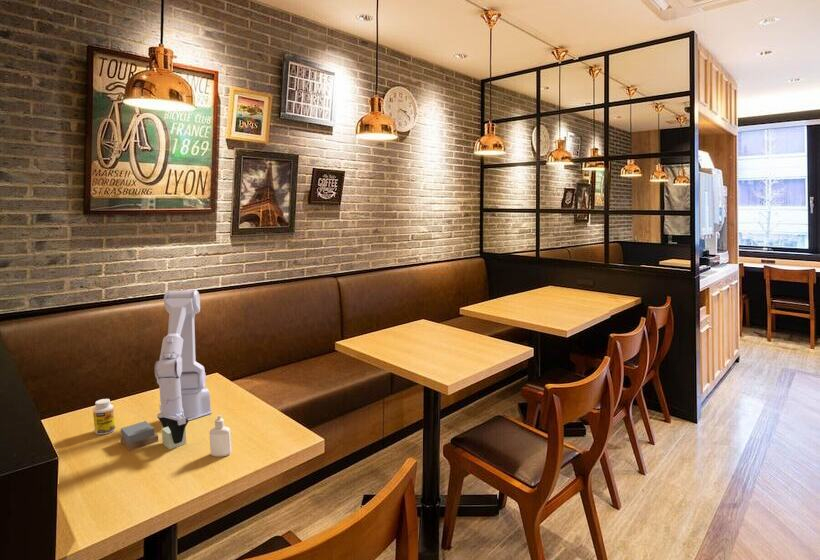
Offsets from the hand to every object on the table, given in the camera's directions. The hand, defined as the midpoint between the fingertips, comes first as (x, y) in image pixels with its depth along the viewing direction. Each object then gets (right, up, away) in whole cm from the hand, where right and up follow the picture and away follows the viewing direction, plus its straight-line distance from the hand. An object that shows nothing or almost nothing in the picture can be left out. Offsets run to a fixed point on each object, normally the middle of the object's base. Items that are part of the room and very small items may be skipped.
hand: (174, 439), depth 148 cm
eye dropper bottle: (+16, -3, -5) cm, 18 cm away
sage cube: (0, -1, 0) cm, 1 cm away
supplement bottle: (-26, 0, +8) cm, 27 cm away
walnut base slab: (-11, -2, +1) cm, 12 cm away
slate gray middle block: (-11, +1, +1) cm, 11 cm away
